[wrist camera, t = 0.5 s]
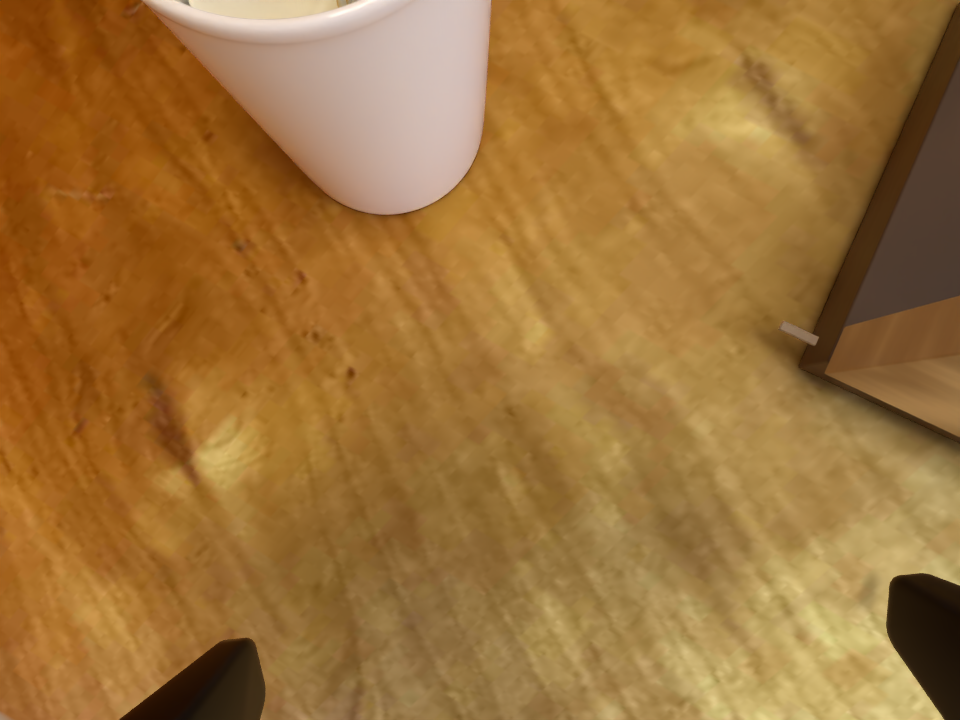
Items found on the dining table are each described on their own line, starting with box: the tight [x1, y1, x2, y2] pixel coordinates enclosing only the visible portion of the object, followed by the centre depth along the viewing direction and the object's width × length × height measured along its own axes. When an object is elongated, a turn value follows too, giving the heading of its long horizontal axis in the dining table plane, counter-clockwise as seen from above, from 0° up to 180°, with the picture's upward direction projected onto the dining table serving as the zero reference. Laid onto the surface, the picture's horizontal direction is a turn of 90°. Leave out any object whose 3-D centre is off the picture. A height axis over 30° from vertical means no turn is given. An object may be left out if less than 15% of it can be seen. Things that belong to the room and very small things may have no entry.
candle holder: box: [141, 0, 492, 215], centre depth 17 cm, size 10×10×12 cm
